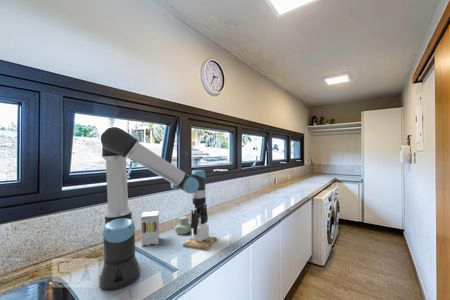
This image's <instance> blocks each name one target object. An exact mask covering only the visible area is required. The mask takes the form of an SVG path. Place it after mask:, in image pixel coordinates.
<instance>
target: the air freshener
mask: <svg viewBox="0 0 450 300" xmlns="http://www.w3.org/2000/svg"><path fill="white" fill-rule="evenodd" d="M174 232H175V233H177V234H178V235H182V236H184V235H187V234H188V233H189V234H190V233H191V232H192V230H191V223H189V217H188V216H186V215H183V216H182V215H181V216H180V217H178V224H177V225H175V227H174ZM183 234H184V235H183Z"/></svg>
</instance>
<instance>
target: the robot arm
mask: <svg viewBox="0 0 450 300" xmlns="http://www.w3.org/2000/svg"><path fill="white" fill-rule="evenodd" d="M99 142H100V145H101V158H102V159H104V161H105V171H106V174H105V175H106V190H107V191H106V192H107V212H106V213H105V214H104V227H103V231H102V237H103V266H102V270H101V273H100V275H99V278H98V281H99V282H98V283H99V284H98V285H99V287H100V289H102V290H106V291H113V290H114V291H115V290H120V289H123V288H126V287H127V286H130V285H132V284H133V283H134V282H136V281H137V280H138V279H139V277H140V275H141V267H140V265H139V262H138V260H137V257H136V241H135V239H136V238H135V237H136V236H135V231H136V225H135V222H134V220H133V211H132V210H133V209H130V208H129V197H128V196H129V195H128V194H129V193H128V192H129V191H128V175H127V173H128V172H127V171H128V169H127V159H131V160H132V161H133V162H136V163H137V164H139V165H141V166H142V167H144V168H145V169H148V170H149V171H151V172H152V173H154V174H156V175H157V176H159V177H160V178H161V179H164V180H165V181H167V182H169V183H170V188H171V189H172V190H182V191H183V192H185V193H187V194H192V205H194V209H191V218H190V219H191V220H190V221H191V222H190V224H191V228H193V234H194V240H199V234H198V228H197V227H198V222H199V216H203V217H205V224H206V225H207V223H208V222H209V221H208V220H209V218H208V209H207V197H206V194H207V193H206V192H207V191H206V172H205V170H202V169H195V170H192V171H191V174H190V173H189V174H187V173H186V172H184V171H183V170H181V169H179V168H178V167H177V166H175V165H174V164H172V163H171V162H169V161H168V160H166V159H164V157H161V156H160V155H158V154H156V153H155V152H154V151H152V150H151V149H149V148H148V147H146V146H144V145H143V144H141V142H140V140H139V139H138V138H136V137H135V136H133V135H132V134H131V133H129V132H128V131H127V130H126V129H125V128H123V127H121V126H118V125H117V126H116V125H110V126H108V127H105V128H104V129H103V130H102V131H101V132H100V136H99Z"/></svg>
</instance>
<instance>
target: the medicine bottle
mask: <svg viewBox="0 0 450 300" xmlns="http://www.w3.org/2000/svg"><path fill="white" fill-rule="evenodd" d="M197 228H198V234H199V240H197V241H202V240H204V239H206V238H208V237H209V236H210V233H209V231H210V229H209V224H207V223H206V224H205V217H203V216H199V222H198V227H197ZM191 238H192V239H194V234H193V228H191Z"/></svg>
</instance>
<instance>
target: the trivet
mask: <svg viewBox="0 0 450 300" xmlns="http://www.w3.org/2000/svg"><path fill="white" fill-rule="evenodd" d="M216 241H217V236H210V235H209V237H208V238H206V239H204V240H202V241H197V240H194V239H192V237H190V238H189V239H187V240H186V241H185V242H184V243H182V247H183V248H188V249H195V250H199V251H204V252H205V251H207V250H208V249H209V248H210V247H211V246H212V245H213V244H215V242H216Z"/></svg>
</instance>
